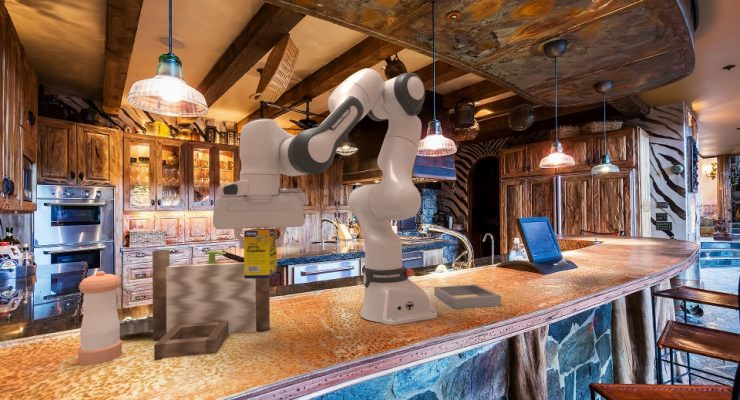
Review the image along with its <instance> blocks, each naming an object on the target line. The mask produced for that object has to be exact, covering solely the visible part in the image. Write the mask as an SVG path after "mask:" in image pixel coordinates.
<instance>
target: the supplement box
mask: <svg viewBox="0 0 740 400" xmlns="http://www.w3.org/2000/svg"><path fill="white" fill-rule="evenodd" d="M277 230H278V229H277V228H250V229H247V230H246V229H245V230H243V240H244V249H243V256H244V257H243V262H244V278H245V279H255V278H269V279H271V277H273V276H274V275H276V274H277V273H278V258H277V257H278V253H277V251H278V249H277V248H278V247H275V239H278V238H277V237H278V236H277V234H278V233H277Z"/></svg>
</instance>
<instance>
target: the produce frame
mask: <svg viewBox="0 0 740 400" xmlns="http://www.w3.org/2000/svg"><path fill="white" fill-rule="evenodd" d="M433 289H434V291H433V292H434V293H433V294H434V297H436V298H437V299H439V300H440V301H441V302H443V303H445V304H446V305H447V306H449V307H450V308H452V309H453V310H457V309H460V310H461V309H472V308H483V307H485V308H486V307H497V306H498V307H499V306H502V299H501V298H502V297H501V295H500V294H498V293H495V292H493V291H491V290H488V289H487V288H484V287H482V286H480V285H479V284H464V285H463V284H462V285H461V284H460V285H459V284H458V285H443V286H435V287H434V288H433ZM460 295H477V296H468V297H467V296H465V297H455V296H460Z"/></svg>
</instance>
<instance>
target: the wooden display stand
mask: <svg viewBox="0 0 740 400" xmlns="http://www.w3.org/2000/svg"><path fill="white" fill-rule="evenodd" d="M151 254H152V257H151V258H152V263H151V264H152V316H153V331H152V341H153V342H156V343H155V344H154V345H153V347H154V348H153V353H154V355H153V360H154V361H161V360H162V359H165V358H175V357H176V358H177V357H187V356H188V357H189V356H199V355H212V354H216V353H217V352H218V350H219V349H220V347H221V346H222V345H223V343H224V341H225V340H226V339H227V337H228V335H229V334H236V333H237V334H238V333H239V334H241V333H249V332H250V333H253V332H257V333H263V332H268V331H270V330H271V327H270V326H271V323H270V322H271V319H270V312H271V311H270V303H271V301H270V300H271V299H270V278H255V279H245V278H244V261H243V262H227V263H226V262H224V263H223V262H222V263H219V262H218V263H219V264H206V263H203V264H200V263H199V264H177V265H170V264H171V263H170V261H171V260H170V249H155V250H152V252H151Z"/></svg>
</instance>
